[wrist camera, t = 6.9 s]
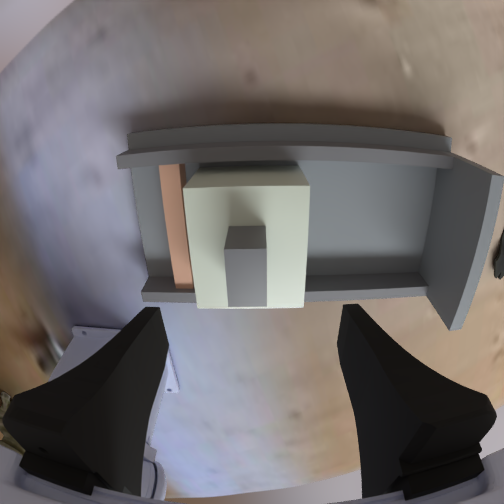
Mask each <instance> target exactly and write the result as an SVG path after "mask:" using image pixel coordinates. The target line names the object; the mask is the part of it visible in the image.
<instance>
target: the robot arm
mask: <svg viewBox="0 0 504 504" xmlns="http://www.w3.org/2000/svg"><path fill="white" fill-rule="evenodd" d="M71 331H72V333H73V336H74V337H73V339H72V340H71V342H70V344H69V345H68V347H67V349H66V350H65V352H64V354H63V355H62V357H61V359H60V361H59V362H58V364H57V366H56V367H55V369H54V371H53V373H52V374H51V376H50V378H49V381H48V382H47V383H45V384H43V385H41V386H38V387H36V388H33V389H31V390H28V391H25V392H22V393H20V394H16V395H15V396H14V398H13V400H12V401H11V403H10V405H9V407H8V408H7V410H6V412H5V414H4V416H3V418H2V422H3V425H4V427H5V429H6V430H7V431H8V432H9V434H10V435H11V436H12V437H13V438H14V439H15V440H16V441H17V442H18V443H19V444H20V445H21V446H22V448H23V449H24V450H25V453H24V455H23V456H22V455H20V454H19V453H17V452H15V451H13V450H11V449H9V448H6V447H4V446H2V445H0V504H185V503H177V502H169V501H164V498H165V494H166V486H167V483H166V476H165V474H164V470H163V467H162V466H161V464H160V463H158V462H156V461H155V456H156V452H157V450H156V449H154V448H152V447H150V445H151V440H152V436H153V432H154V428H155V424H156V421H157V417H158V413H159V409H160V405H161V401H162V398H163V394H164V392H165V393H178V392H179V390H180V388H179V384H178V381H177V377H176V374H175V370H174V367H173V363H172V359H171V356H170V352H169V343H168V339H167V335H166V331H165V327H164V323H163V319H162V315H161V311H160V307H145V308H144V309H143V310H142V311H141V312H139V313H138V314H137V315H136V316H135V317H134V318H133V319H132V320H131V321H130V322H129V323H128V324H127V325H126V326H125V327H124V328H123V329H122V330H117V329H104V328H93V327H82V326H73V328H72V330H71ZM84 331H85V332H84ZM337 347H338V354H339V360H340V365H341V369H342V372H343V376H344V379H345V383H346V386H347V390H348V393H349V397H350V400H351V404H352V407H353V411H354V416H355V421H356V428H357V435H358V443H359V452H360V463H361V477H362V499H358V500H351V501H344V502H337V503H329V504H504V448H503V449H501V450H499V451H496V452H494V453H492V454H490V455H488V456H486V457H484V458H483V459H482V460H481V459H480V456H479V454H478V453H480V452H481V451H482V448H481V446H480V443H479V442H480V441H481V440H482V438H483V437H484V436H485V435H486V434H487V433H488V431H489V430H490V429H491V428H492V426H493V425H494V423H495V420H496V417H497V415H496V412H495V410H494V408H493V406H492V404H491V402H490V400H489V398H488V397H487V395H485V394H483V393H480V392H477V391H474V390H472V389H469V388H467V387H464V386H462V385H460V384H458V383H456V382H454V381H452V380H450V379H448V378H446V377H444V376H442V375H441V374H439V373H437V372H436V371H434V370H432V369H431V368H429V367H428V366H426V365H424V364H423V363H422V362H420V361H419V360H418V359H416V358H415V357H413V356H412V355H411V354H410V353H408V352H407V351H406V350H405V349H403V348H402V347H401V346H400V345H399V344H398V343H397V342H395V341H394V340H393V339H392V338H391V337H390V336H389V335H388V334H387V333H386V332H385V331H384V330H383V329H382V328H381V327H380V326H379V325H378V324H377V323H376V322H375V321H374V320H373V319H372V318H371V317H370V316H369V315H368V314H367V313H366V312H365V311H364V309H363V308H362V307H361V306H360V305H359V304H345V305H343V309H342V316H341V322H340V328H339V334H338V340H337Z"/></svg>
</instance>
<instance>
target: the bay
mask: <svg viewBox="0 0 504 504" xmlns="http://www.w3.org/2000/svg"><path fill="white" fill-rule="evenodd" d="M127 138H128V148H129V150H127V151H125V152H123V153H121V154H119V155H117V156H116V159H117V167H118V169H126V168H131V173H132V180H133V188H134V195H135V201H136V208H137V214H138V220H139V226H140V232H141V238H142V243H143V249H144V254H145V259H146V264H147V269H148V274H149V278H148V280H147V282H146V283H145V285H144V287H143V289H142V291H141V294H142V299H143V302H178V303H197V301H196V294H195V287H194V280H193V272H192V265H191V257H190V249H189V241H188V233H187V224H186V215H185V206H184V196H183V188H184V186H185V185H186V184H187V183H188V181H189V180H190V179H191V177H192V176H193V175H194V174H195V172H196V171H197V170H198V169H199V168H206V167H230V166H300V168H301V170H302V172H303V174H304V175H305V177H306V179H307V181H308V183H309V185H310V204H309V227H308V247H307V264H306V280H305V294H304V302H315V301H343V300H364V299H383V298H400V297H415V296H427V298H428V299H429V300H430V302H431V303H432V305H433V306H434V308H435V309H436V311H437V313H438V314H439V316H440V317H441V319H442V320H443V322H444V323H445V325H446V326H447V328H448V330H449V331H452V330H459V329H461V328H462V326H463V323H464V321H465V318H466V316H467V313H468V311H469V308H470V305H471V302H472V300H473V297H474V294H475V291H476V288H477V285H478V283H479V279H480V276H481V273H482V270H483V267H484V264H485V260H486V257H487V253H488V250H489V246H490V242H491V239H492V235H493V231H494V227H495V222H496V218H497V214H498V209H499V204H500V199H501V194H502V188H503V183H504V176H502V175H500V174H498V173H496V172H494V171H492V170H490V169H488V168H486V167H483V166H481V165H479V164H477V163H475V162H472V161H470V160H468V159H466V158H463V157H461V156H459V155H456V154H454V153H451V142H452V138H451V137H448V136H443V135H436V134H429V133H422V132H414V131H406V130H397V129H388V128H377V127H365V126H351V125H333V124H304V123H254V124H225V125H207V126H193V127H181V128H170V129H160V130H151V131H142V132H134V133H130V134H127Z"/></svg>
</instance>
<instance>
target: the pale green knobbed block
mask: <svg viewBox="0 0 504 504" xmlns="http://www.w3.org/2000/svg"><path fill="white" fill-rule="evenodd" d="M183 196H184V206H185V215H186V224H187V233H188V241H189V249H190V257H191V265H192V272H193V280H194V287H195V294H196V301H197V308H206V309H255V308H303V307H304V294H305V280H306V264H307V247H308V227H309V204H310V185H309V183H308V181H307V179H306V177H305V175H304V174H303V172H302V170H301V168H300V166H230V167H206V168H199V169H198V170H197V171H196V172H195V174H194V175H193V176H192V177H191V179H190V180H189V181H188V183H187V184H186V185H185V186H184V188H183Z"/></svg>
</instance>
